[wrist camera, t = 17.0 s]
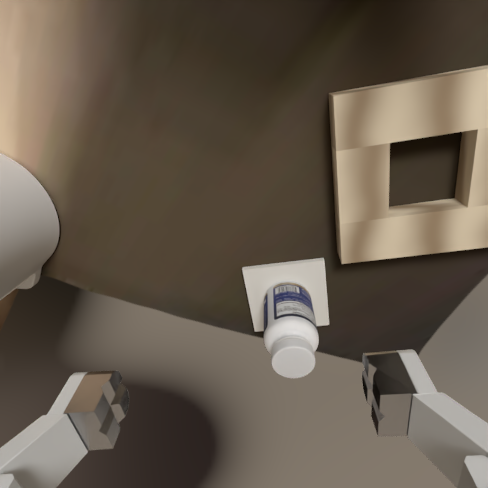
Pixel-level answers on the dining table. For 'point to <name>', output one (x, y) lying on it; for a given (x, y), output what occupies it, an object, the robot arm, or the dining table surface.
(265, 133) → the dining table surface
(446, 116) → the socket block
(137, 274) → the dining table surface
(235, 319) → the dining table surface
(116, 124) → the dining table surface
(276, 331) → the pill bottle
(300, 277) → the pad
